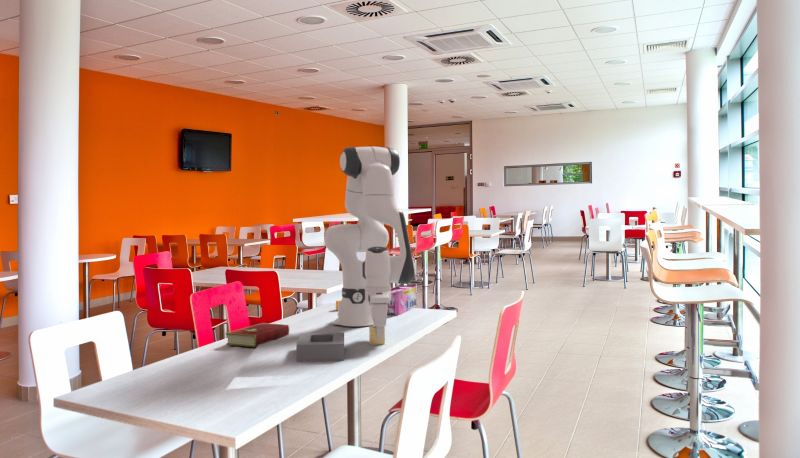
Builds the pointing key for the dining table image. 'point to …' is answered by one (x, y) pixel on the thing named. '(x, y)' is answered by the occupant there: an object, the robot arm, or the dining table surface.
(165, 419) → the dining table surface
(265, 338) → the hardcover book
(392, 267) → the robot arm
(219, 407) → the dining table surface
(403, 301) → the gum box
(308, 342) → the well
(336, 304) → the pipe clamp
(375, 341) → the tan block
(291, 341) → the dining table surface
